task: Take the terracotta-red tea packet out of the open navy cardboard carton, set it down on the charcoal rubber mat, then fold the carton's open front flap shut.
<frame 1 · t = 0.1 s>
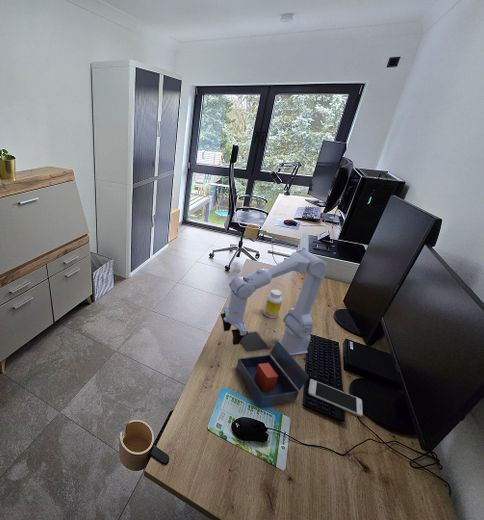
hand: (230, 337, 111), 10 cm above the table, tool pointing down, fingers open, 7 cm apart
supplement bottle: (270, 314, 140), on the table
carton: (263, 384, 103), on the table
flap: (287, 364, 100), point 9 cm above the table, hinge at 105.0°
mat: (251, 341, 123), on the table
packet: (265, 377, 102), in the carton
smartphone: (333, 398, 99), on the table
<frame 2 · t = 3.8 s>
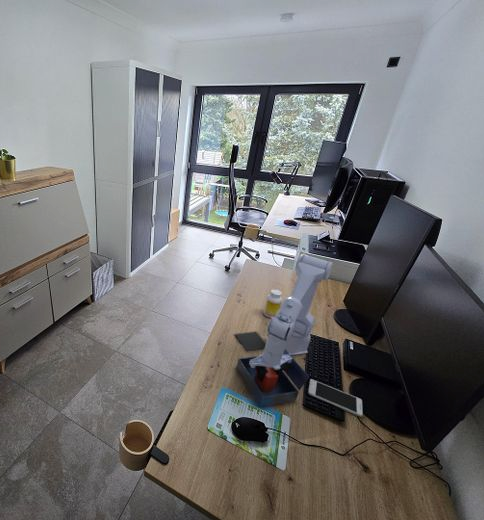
hand: (265, 378, 102), 3 cm above the table, tool pointing down, fingers closed on packet, 4 cm apart
packet: (265, 377, 102), in the carton, touching gripper
everything else where it was.
when the fingers open (3 cm above the table, at t = 9.1 s): packet stays where it is, resting on mat.
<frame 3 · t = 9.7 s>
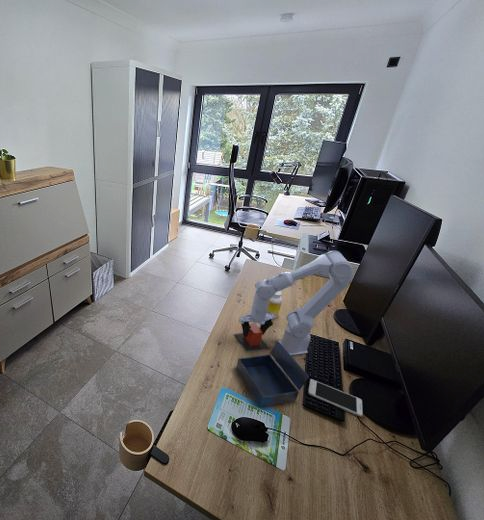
hand: (253, 334, 121), 4 cm above the table, tool pointing down, fingers open, 7 cm apart
packet: (253, 334, 121), on the mat
everything else where it was.
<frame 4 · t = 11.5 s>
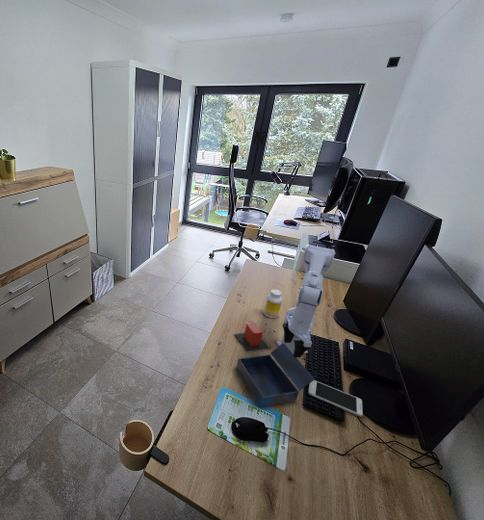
hand: (291, 349, 105), 10 cm above the table, tool pointing down, fingers open, 7 cm apart
flap: (290, 365, 101), point 8 cm above the table, hinge at 133.6°
everything else where it was.
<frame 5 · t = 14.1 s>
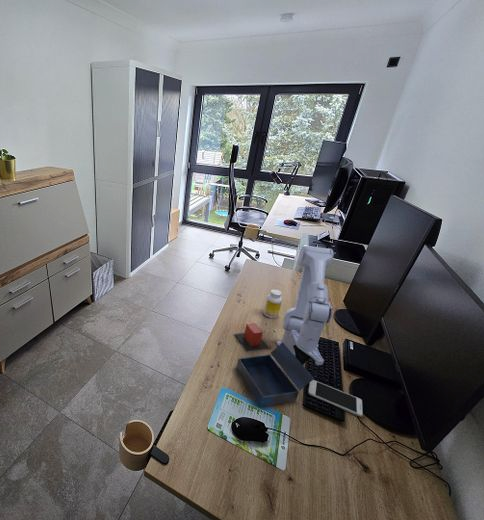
hand: (299, 364, 101), 8 cm above the table, tool pointing down, fingers closed, pressing on flap
flap: (290, 364, 101), point 8 cm above the table, hinge at 129.1°, touching gripper
everything else where it was.
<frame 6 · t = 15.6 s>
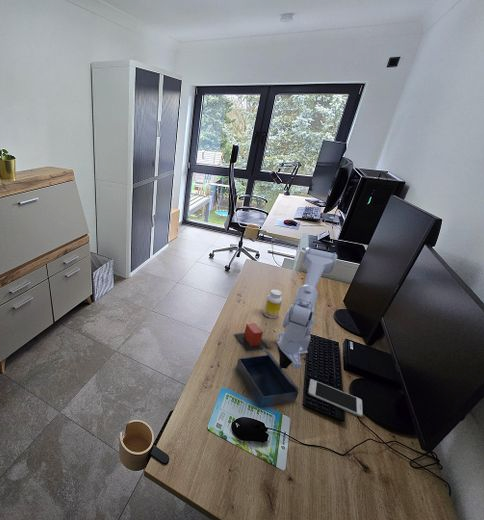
hand: (283, 366, 101), 8 cm above the table, tool pointing down, fingers closed
flap: (279, 366, 100), point 8 cm above the table, hinge at 43.9°, touching gripper
everything else where it was.
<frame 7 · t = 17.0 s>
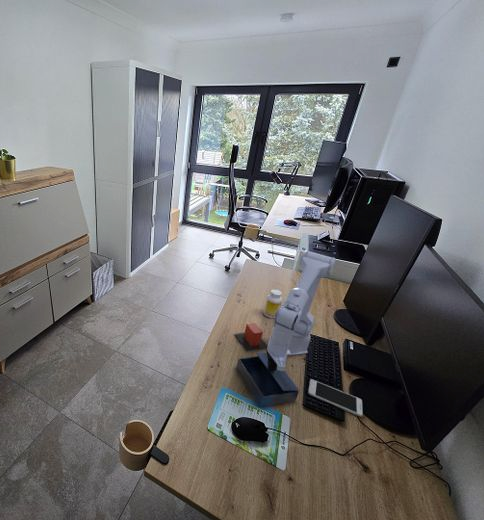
hand: (271, 369, 100), 7 cm above the table, tool pointing down, fingers closed, pressing on flap
flap: (276, 370, 101), point 7 cm above the table, hinge at 12.2°, touching gripper
everything else where it was.
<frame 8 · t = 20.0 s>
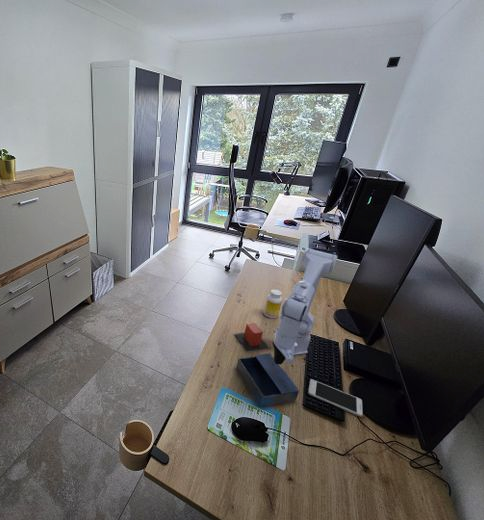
hand: (277, 362, 99), 10 cm above the table, tool pointing down, fingers closed
flap: (275, 371, 101), point 6 cm above the table, hinge at -0.6°
everything else where it was.
at the end: packet inside the target area on the mat (0.1 cm from its centre), point 4.0 cm above the mat's base; the gripper is holding nothing; flap at -1° (first picture: +105°) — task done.
